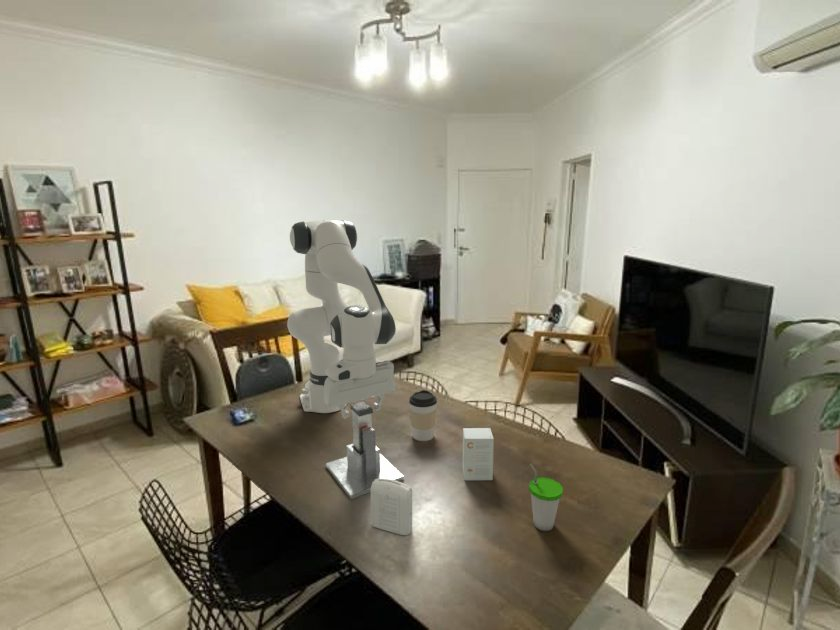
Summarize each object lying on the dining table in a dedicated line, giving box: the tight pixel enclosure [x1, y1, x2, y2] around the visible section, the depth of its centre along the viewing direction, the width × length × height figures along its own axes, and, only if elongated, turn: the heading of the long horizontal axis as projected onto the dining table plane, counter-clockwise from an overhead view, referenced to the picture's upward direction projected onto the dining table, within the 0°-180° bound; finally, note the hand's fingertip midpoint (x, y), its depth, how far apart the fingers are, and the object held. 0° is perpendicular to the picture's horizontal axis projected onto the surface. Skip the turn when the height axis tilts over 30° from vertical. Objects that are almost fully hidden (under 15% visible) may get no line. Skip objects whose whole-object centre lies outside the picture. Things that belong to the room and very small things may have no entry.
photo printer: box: [370, 479, 413, 536], centre depth 107 cm, size 10×4×12 cm, turn 69°
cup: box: [528, 463, 564, 532], centre depth 107 cm, size 8×8×15 cm
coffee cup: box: [408, 389, 438, 442], centre depth 149 cm, size 9×9×15 cm
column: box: [349, 400, 374, 454], centre depth 127 cm, size 6×4×19 cm, turn 32°
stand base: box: [325, 427, 405, 500], centre depth 128 cm, size 18×16×16 cm
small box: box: [462, 427, 495, 481], centre depth 127 cm, size 8×6×13 cm
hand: (361, 413), depth 125 cm, fingers open, 8 cm apart
